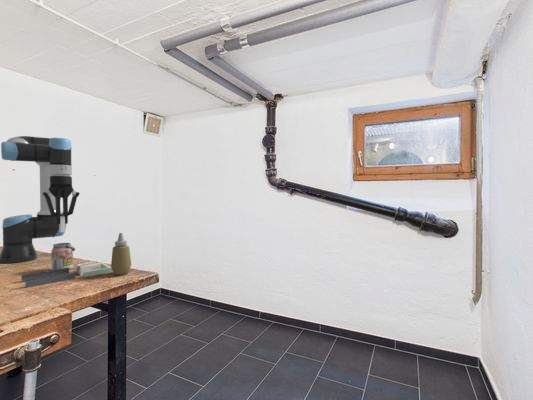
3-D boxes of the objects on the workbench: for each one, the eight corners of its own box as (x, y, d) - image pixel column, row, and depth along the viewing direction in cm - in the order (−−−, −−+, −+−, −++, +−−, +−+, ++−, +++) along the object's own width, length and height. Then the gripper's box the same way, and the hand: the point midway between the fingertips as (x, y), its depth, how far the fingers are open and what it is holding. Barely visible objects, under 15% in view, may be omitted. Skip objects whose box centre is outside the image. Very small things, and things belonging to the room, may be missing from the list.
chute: (21, 281, 116) (21, 275, 116) (68, 273, 128) (68, 267, 128) (25, 287, 109) (25, 281, 109) (75, 278, 121) (75, 272, 120)
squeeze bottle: (127, 270, 133) (127, 231, 133) (134, 273, 128) (133, 233, 127) (108, 273, 128) (107, 233, 127) (114, 277, 122) (113, 235, 121)
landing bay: (75, 271, 131) (75, 267, 131) (103, 266, 139) (102, 262, 139) (83, 277, 122) (83, 272, 122) (112, 271, 130) (112, 267, 130)
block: (76, 273, 129) (76, 264, 128) (96, 269, 134) (96, 261, 134) (80, 276, 125) (80, 267, 124) (101, 272, 130) (101, 263, 130)
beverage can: (64, 266, 139) (64, 241, 139) (79, 267, 138) (79, 242, 137) (46, 271, 130) (46, 245, 130) (62, 272, 129) (62, 246, 128)
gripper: (43, 174, 113) (44, 234, 114) (81, 176, 123) (82, 231, 124) (39, 175, 118) (41, 232, 119) (76, 176, 128) (77, 229, 129)
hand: (62, 231), depth 121 cm, fingers closed
